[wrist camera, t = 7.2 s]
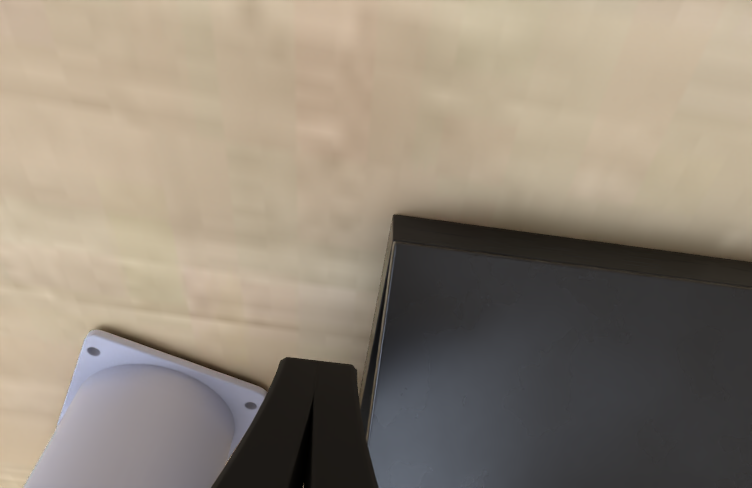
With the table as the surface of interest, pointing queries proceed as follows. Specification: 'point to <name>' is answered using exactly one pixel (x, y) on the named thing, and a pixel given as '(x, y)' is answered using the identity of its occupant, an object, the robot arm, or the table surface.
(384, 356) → the laptop screen
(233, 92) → the table surface
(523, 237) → the laptop
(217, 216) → the table surface
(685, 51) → the table surface
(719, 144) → the table surface
